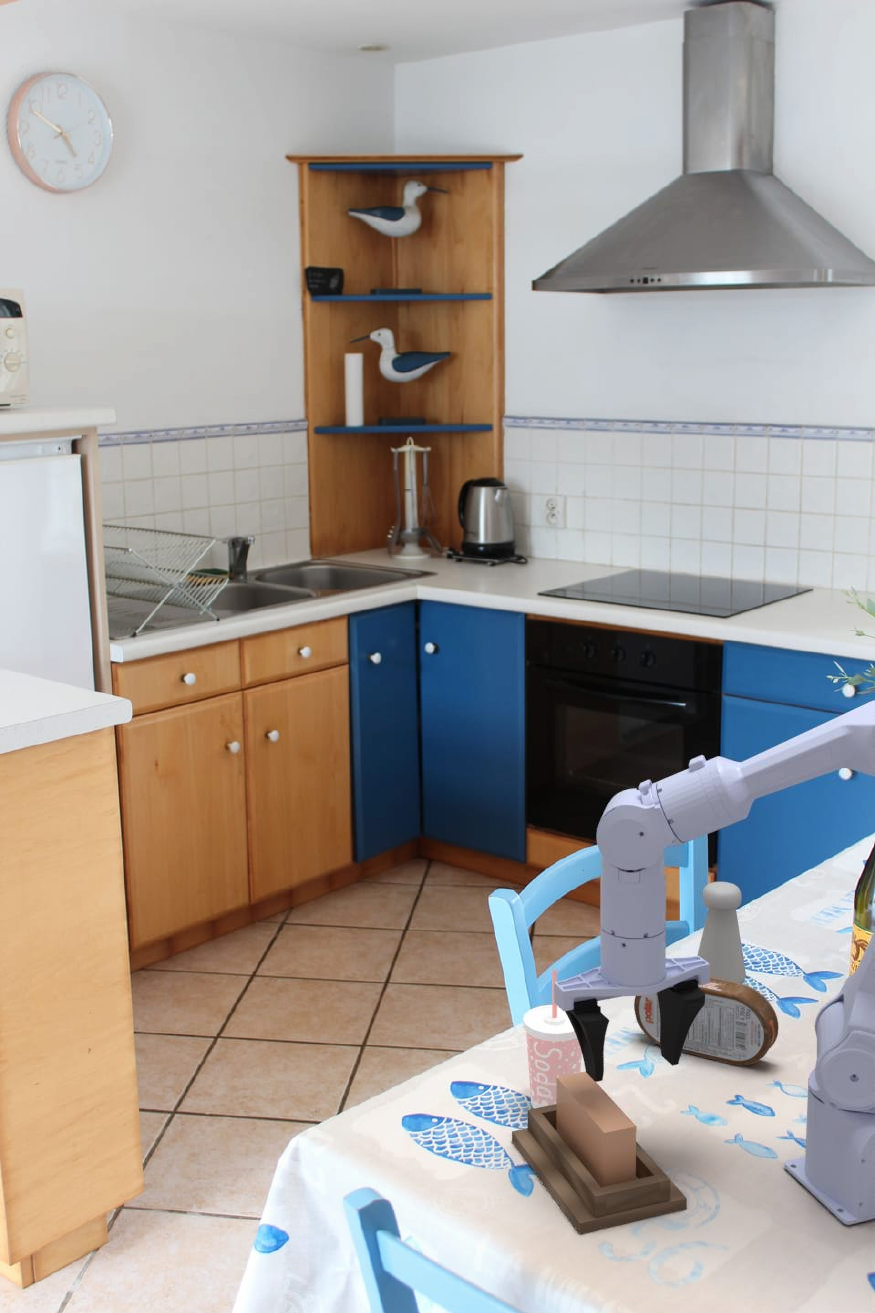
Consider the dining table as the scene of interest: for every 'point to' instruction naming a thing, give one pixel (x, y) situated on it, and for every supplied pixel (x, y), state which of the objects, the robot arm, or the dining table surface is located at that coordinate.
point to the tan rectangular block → (595, 1129)
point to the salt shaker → (722, 932)
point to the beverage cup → (550, 1050)
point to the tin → (720, 1023)
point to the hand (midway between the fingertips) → (632, 1068)
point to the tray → (593, 1180)
